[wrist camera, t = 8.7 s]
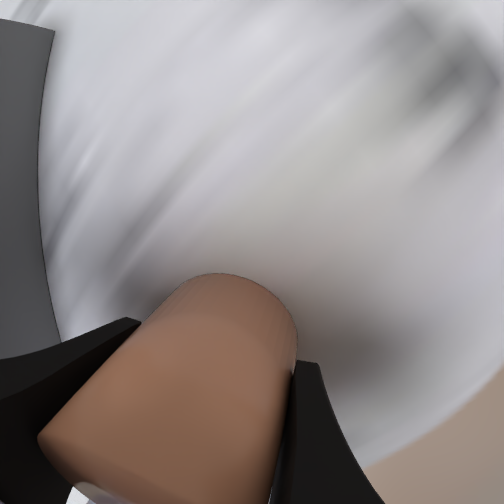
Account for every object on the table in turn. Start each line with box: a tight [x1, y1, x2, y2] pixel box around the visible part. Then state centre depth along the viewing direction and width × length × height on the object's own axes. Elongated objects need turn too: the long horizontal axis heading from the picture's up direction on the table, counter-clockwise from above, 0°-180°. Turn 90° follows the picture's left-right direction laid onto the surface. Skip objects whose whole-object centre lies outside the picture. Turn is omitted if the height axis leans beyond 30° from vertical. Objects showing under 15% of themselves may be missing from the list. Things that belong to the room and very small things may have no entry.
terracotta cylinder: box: [37, 274, 298, 504], centre depth 7 cm, size 5×5×7 cm
